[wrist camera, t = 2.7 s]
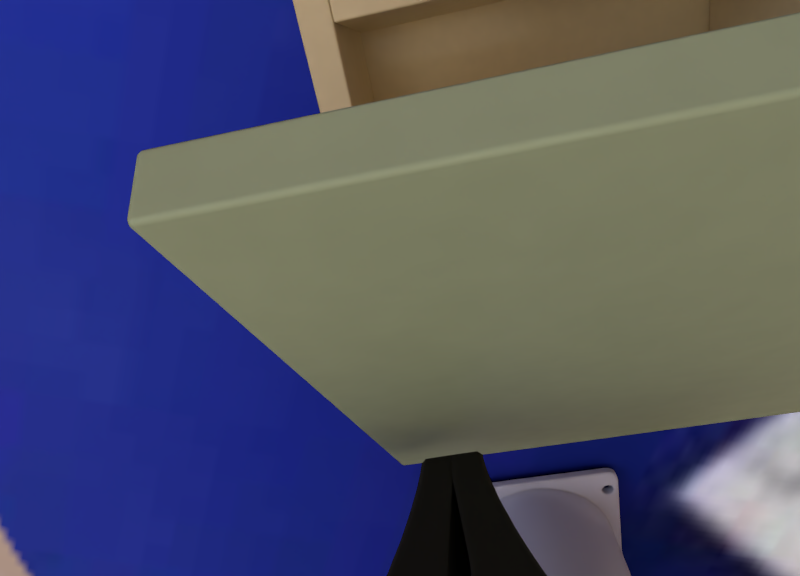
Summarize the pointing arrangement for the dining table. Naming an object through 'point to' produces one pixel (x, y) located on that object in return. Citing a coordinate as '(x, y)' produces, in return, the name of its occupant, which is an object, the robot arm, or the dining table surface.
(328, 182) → the lid
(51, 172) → the dining table surface
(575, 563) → the robot arm
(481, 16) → the wooden box
